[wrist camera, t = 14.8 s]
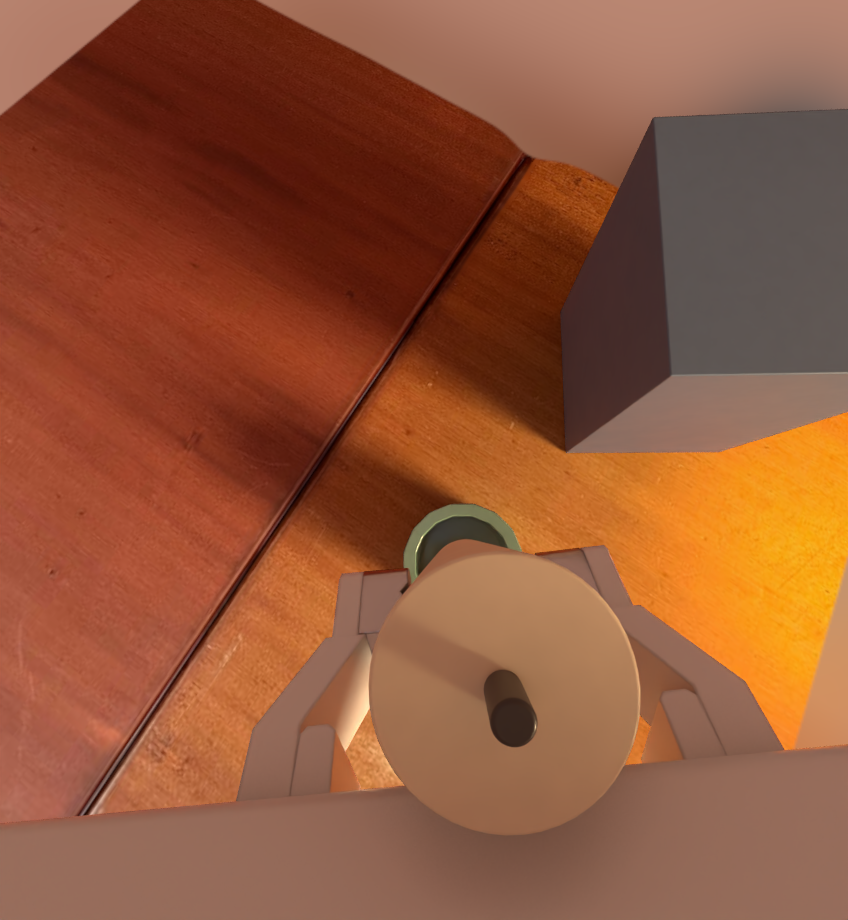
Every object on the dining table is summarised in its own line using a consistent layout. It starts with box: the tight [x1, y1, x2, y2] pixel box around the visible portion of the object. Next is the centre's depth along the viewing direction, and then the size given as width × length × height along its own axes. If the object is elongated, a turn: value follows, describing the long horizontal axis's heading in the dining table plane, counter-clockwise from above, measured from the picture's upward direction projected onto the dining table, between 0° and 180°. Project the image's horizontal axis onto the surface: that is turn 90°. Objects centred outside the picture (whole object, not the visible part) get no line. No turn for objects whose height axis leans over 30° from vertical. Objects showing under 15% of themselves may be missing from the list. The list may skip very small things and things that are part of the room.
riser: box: [561, 109, 848, 453], centre depth 27 cm, size 10×10×17 cm
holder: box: [403, 504, 522, 584], centre depth 31 cm, size 7×7×6 cm
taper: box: [368, 539, 640, 836], centre depth 12 cm, size 3×3×15 cm
